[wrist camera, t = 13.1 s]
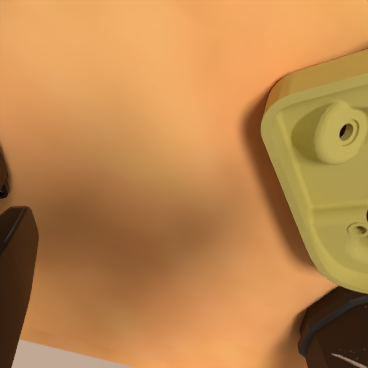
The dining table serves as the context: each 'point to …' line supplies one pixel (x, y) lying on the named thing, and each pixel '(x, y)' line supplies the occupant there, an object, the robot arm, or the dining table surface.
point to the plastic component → (325, 162)
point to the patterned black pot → (336, 331)
